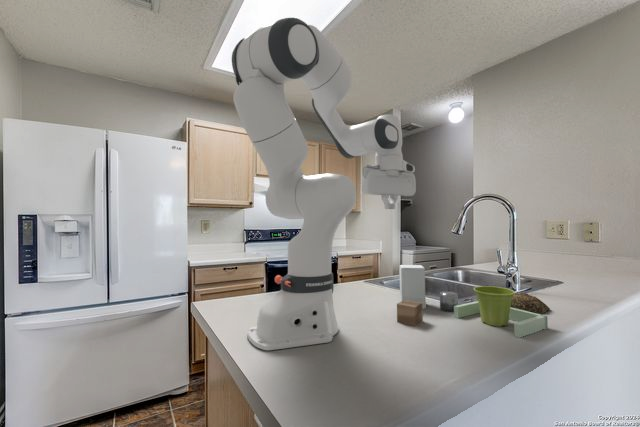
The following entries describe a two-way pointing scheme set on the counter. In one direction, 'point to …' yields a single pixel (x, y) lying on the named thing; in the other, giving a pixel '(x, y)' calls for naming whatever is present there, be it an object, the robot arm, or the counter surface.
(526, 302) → the bread roll
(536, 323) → the corral
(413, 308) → the walnut block
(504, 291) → the plant pot
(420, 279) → the supplement box
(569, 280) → the counter surface
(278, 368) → the counter surface
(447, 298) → the metal tin
